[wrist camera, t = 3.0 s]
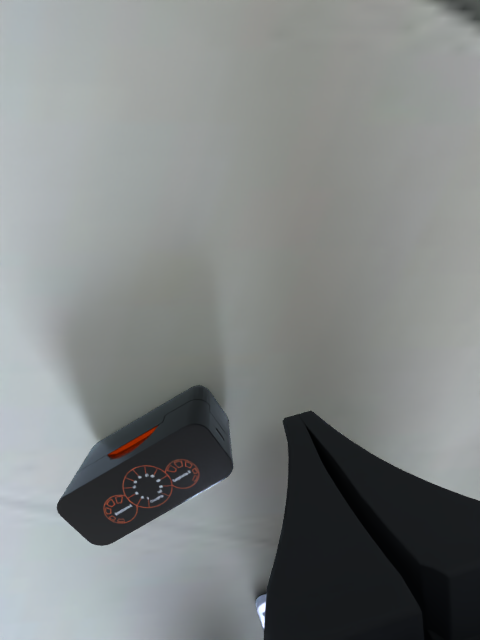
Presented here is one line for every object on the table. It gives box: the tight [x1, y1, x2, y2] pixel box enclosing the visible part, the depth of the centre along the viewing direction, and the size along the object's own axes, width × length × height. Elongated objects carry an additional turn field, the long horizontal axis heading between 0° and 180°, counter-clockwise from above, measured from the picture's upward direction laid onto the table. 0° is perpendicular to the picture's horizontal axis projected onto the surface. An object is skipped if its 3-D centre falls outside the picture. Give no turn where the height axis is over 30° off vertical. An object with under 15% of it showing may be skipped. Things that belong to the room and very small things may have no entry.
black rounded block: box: [57, 385, 233, 546], centre depth 11 cm, size 5×7×3 cm, turn 120°
